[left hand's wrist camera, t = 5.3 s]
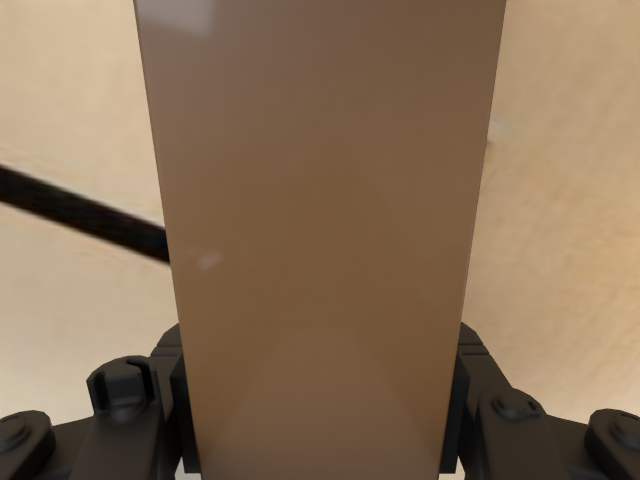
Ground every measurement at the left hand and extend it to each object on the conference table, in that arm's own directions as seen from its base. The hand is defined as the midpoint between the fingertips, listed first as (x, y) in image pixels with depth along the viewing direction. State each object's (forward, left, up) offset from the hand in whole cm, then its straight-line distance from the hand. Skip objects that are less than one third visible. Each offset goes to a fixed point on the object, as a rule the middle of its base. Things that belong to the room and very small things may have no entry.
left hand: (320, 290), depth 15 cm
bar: (+5, +8, -1) cm, 9 cm away
